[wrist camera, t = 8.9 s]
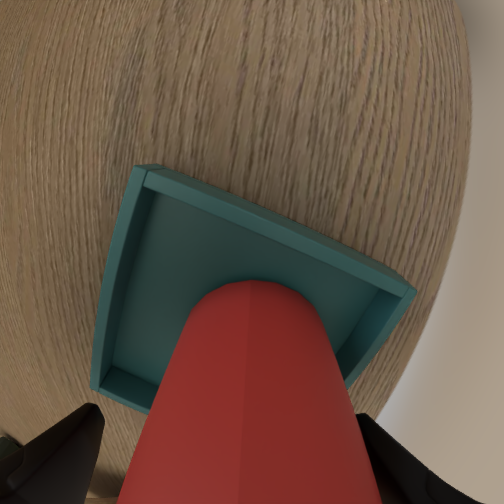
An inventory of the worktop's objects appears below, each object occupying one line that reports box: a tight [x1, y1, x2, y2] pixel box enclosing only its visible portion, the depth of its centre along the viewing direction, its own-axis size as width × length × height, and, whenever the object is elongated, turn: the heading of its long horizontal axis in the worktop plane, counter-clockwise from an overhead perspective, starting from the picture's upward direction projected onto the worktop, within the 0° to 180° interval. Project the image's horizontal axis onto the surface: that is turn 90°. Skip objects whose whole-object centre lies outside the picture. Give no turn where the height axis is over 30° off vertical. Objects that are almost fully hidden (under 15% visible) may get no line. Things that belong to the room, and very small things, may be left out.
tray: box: [90, 164, 417, 415], centre depth 13 cm, size 12×12×2 cm
